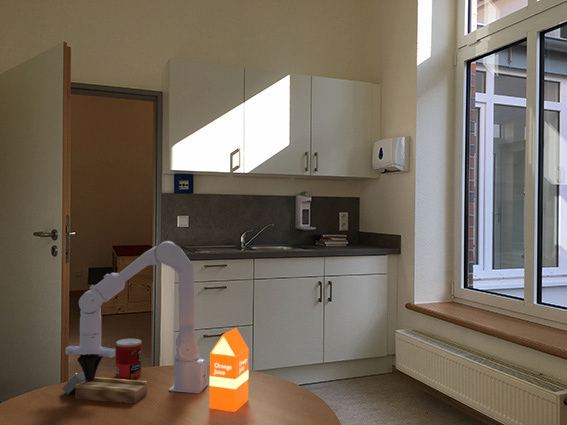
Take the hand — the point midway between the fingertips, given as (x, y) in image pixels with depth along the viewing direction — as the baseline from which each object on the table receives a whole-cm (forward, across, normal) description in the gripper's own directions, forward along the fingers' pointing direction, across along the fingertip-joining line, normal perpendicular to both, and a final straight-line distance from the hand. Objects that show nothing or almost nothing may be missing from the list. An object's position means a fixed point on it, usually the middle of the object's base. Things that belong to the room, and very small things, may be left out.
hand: (90, 380), depth 140 cm
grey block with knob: (+2, -4, 0) cm, 4 cm away
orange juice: (+4, +41, +2) cm, 41 cm away
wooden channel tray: (+4, +7, 0) cm, 8 cm away
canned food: (+4, +3, +17) cm, 18 cm away
